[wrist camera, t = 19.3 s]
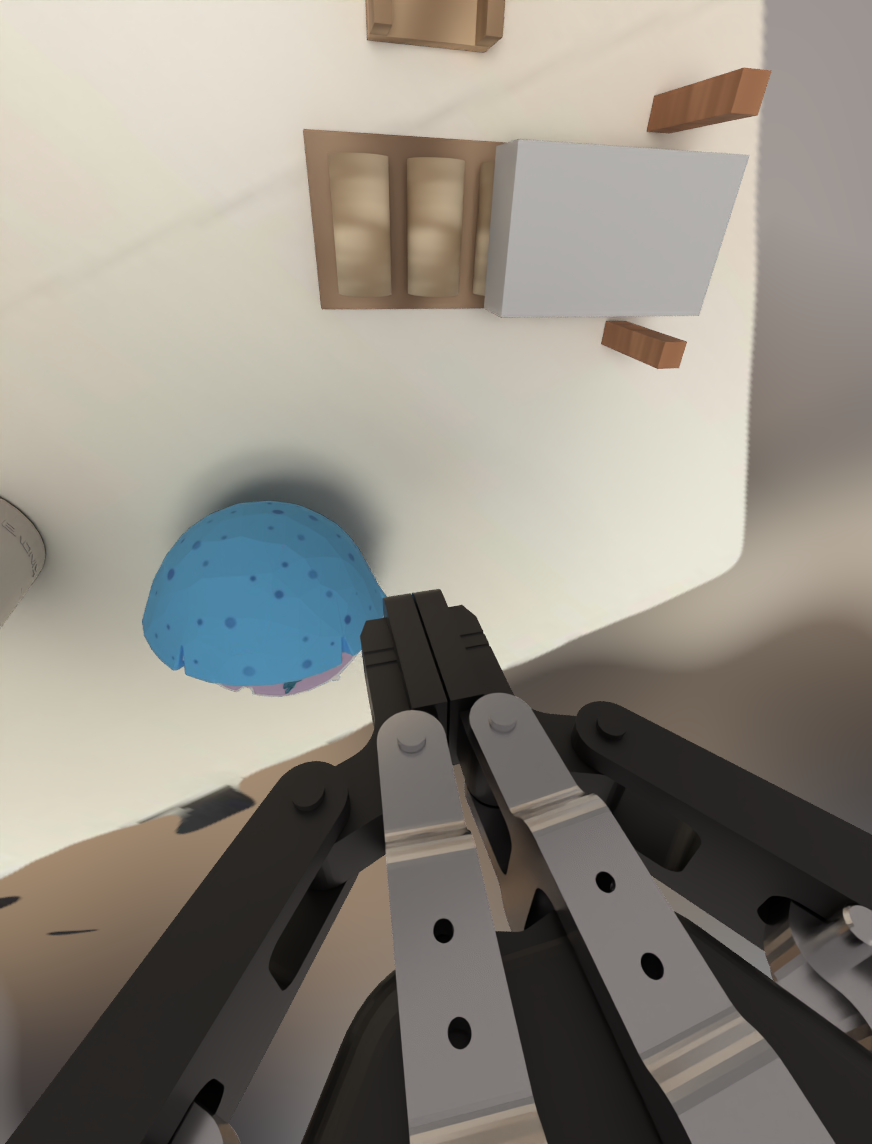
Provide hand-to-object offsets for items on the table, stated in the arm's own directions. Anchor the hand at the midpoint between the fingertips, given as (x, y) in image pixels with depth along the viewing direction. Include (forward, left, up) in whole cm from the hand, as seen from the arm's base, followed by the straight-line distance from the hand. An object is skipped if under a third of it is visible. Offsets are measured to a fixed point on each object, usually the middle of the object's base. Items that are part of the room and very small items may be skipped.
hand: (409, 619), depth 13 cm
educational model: (-6, -15, -25) cm, 30 cm away
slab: (+14, +8, -20) cm, 26 cm away
